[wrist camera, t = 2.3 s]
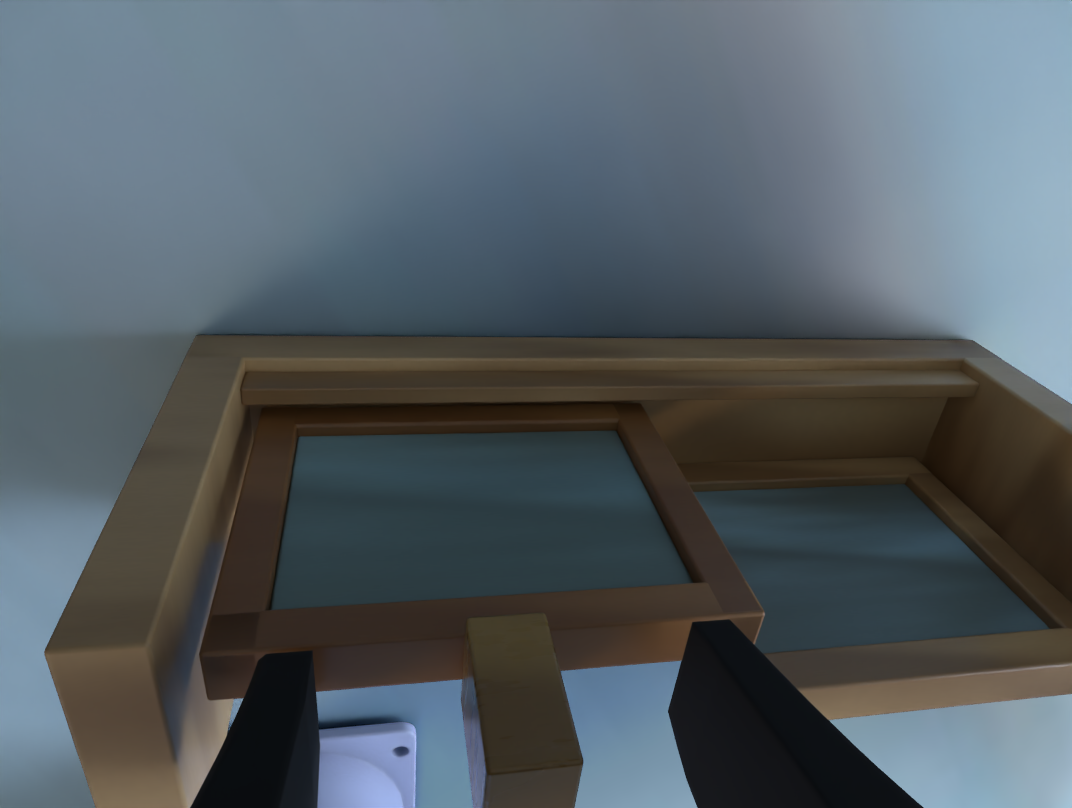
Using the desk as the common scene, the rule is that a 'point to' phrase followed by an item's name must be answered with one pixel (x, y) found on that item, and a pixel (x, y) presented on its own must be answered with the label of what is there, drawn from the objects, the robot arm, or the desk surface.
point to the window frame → (711, 471)
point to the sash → (470, 566)
